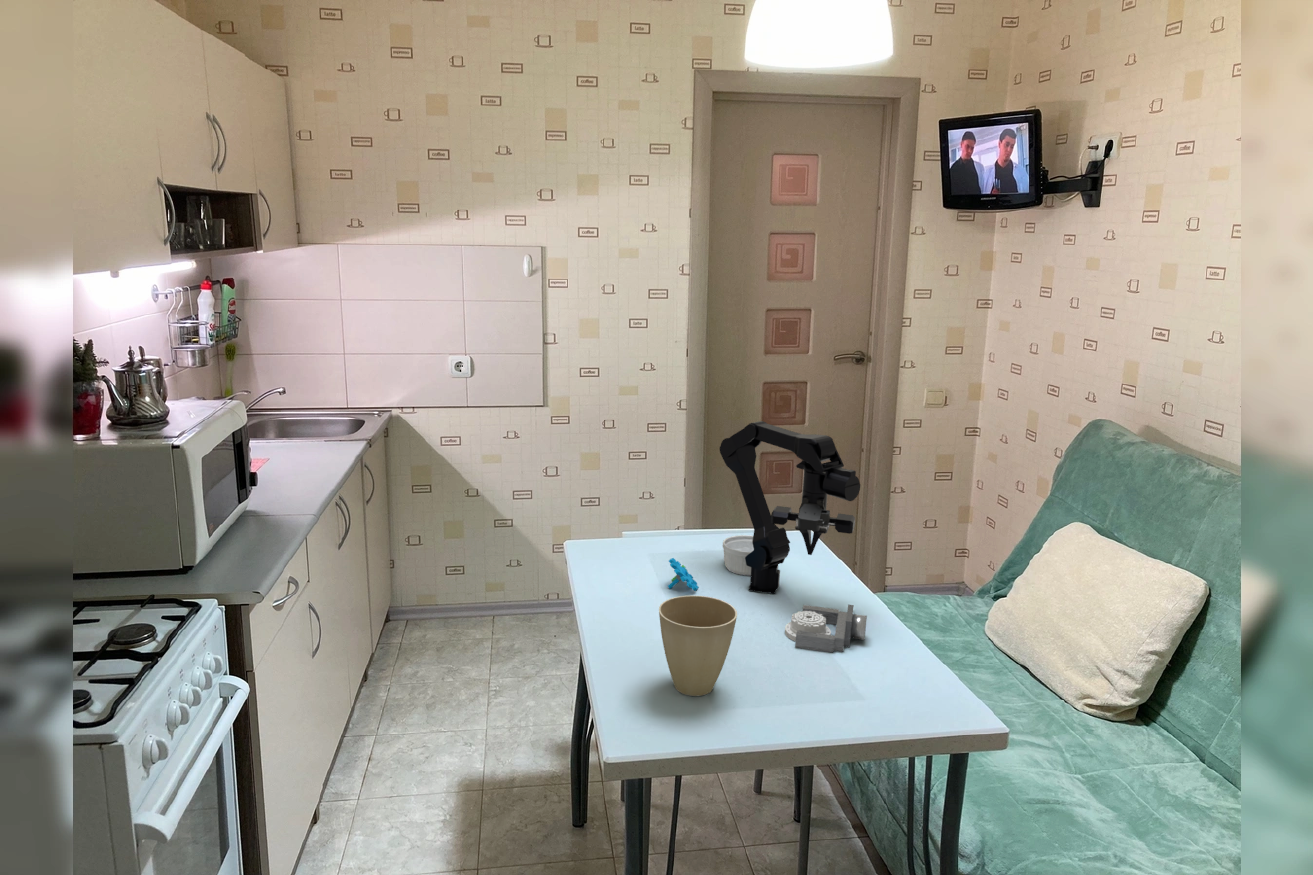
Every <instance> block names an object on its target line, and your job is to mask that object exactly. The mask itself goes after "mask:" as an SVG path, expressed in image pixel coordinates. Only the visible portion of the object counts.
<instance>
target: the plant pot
mask: <svg viewBox="0 0 1313 875" xmlns="http://www.w3.org/2000/svg"><path fill="white" fill-rule="evenodd" d="M658 615H659V617H658V618H659V626H660V634H661V638H662V645H663V650H664V654H665V659H666V663H667V666H668V669H669V673H670V676H671V680H672V683H673V685H674V688H675V689H676V690H677V692H679V693H681V694H682V695H686V696H689V697H702V696H705V695H708V694H710V693H711V692H712V691H713V689H714V687H715V685H716V684H717V681H718V679H719V676H720V675H721V672H722V670H723V667H724V664H725V661H726V659H727V656H728V654H729V651H730V647H731V643H732V641H733V636H734V632H735V627H736V623H737V619H738V611H737V609H736V608H735V607H734V606H733V605H732V604H730V603H729V602H727V601H725V600H722V599H720V598H716V597H713V596H712V597H711V596H705V595H680V596H675V597H671V598H669V599H666V600H664V601H663V602H662V603H660V605H659V606H658Z"/></svg>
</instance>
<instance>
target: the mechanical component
mask: <svg viewBox="0 0 1313 875" xmlns="http://www.w3.org/2000/svg"><path fill="white" fill-rule="evenodd" d="M797 631H805V632H812V633H819V634H827V635H832V631H831V629H830V627H829V626H827V624H826V618H825V617H823V616H822V614H817V613H815V612H811V611H803V612H802V611H797V612H795V613H792V615H791V621H790V622H788V623H787V624H785V627H784V635H785V636H786V637H787V638H788V639H790V640H791V641H794V642H796V633H797Z"/></svg>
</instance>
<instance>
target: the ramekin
mask: <svg viewBox="0 0 1313 875" xmlns="http://www.w3.org/2000/svg"><path fill="white" fill-rule="evenodd" d="M752 541H753V535H750V534H749V535H748V534H741V535H732V536H729V537H727V538H725V539H724V540H723V541H722V549H723V559H724V565H725V567H726V568H727V569H728V571H729V572H731V573H733V574H737V575H740V576H750V577H751V567H749V566H747V565H746V560H745V557H746V556H747V555H748V554H750V553H751V552H752V551H753V550H754V548H753V543H752Z"/></svg>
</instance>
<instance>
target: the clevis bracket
mask: <svg viewBox="0 0 1313 875" xmlns="http://www.w3.org/2000/svg"><path fill="white" fill-rule="evenodd" d="M801 610H802V611H801V612H803V611H811V612H815V613H817V614H822V616H823V617H825V618H826V625H832V626H835V633H834V635H833V634H831V635H827V634H819V633H812V632H805V631H797V633H796V641H795V646H794V648H796V649H803V650H810V651H816V652H817V651H818V652H823V653H824V652H825V653H826V652H827V653H834V652H841V653H843V652H844V648H850V646H851V639H854V640H862V641H865V639H866V627H867V620H868V619H867V617H868V616H867V615H864V614H855V613H854V604H847V611H840V609H838V608H830V607H824V606H823V607H822V606H814V605H809V604H803V605H802V609H801Z"/></svg>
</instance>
